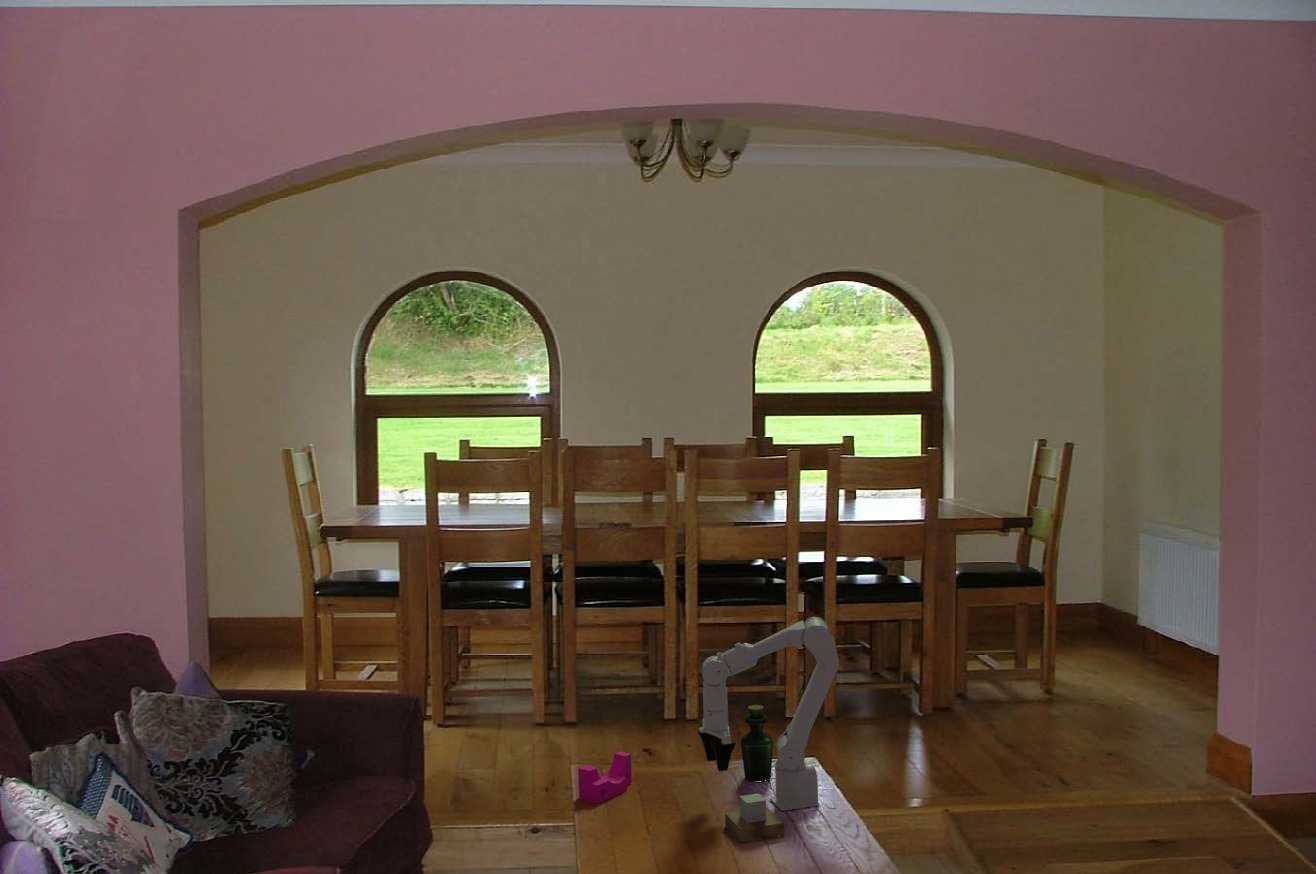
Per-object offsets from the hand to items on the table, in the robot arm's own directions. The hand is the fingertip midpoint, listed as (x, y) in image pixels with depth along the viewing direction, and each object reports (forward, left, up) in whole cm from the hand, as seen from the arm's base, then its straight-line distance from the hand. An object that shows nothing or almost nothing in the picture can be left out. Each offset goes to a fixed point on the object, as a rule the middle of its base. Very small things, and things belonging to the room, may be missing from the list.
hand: (717, 765), depth 284 cm
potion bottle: (-15, -13, -10) cm, 22 cm away
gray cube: (-2, +18, -6) cm, 19 cm away
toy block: (+22, -18, -10) cm, 30 cm away
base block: (-2, +18, -9) cm, 20 cm away
